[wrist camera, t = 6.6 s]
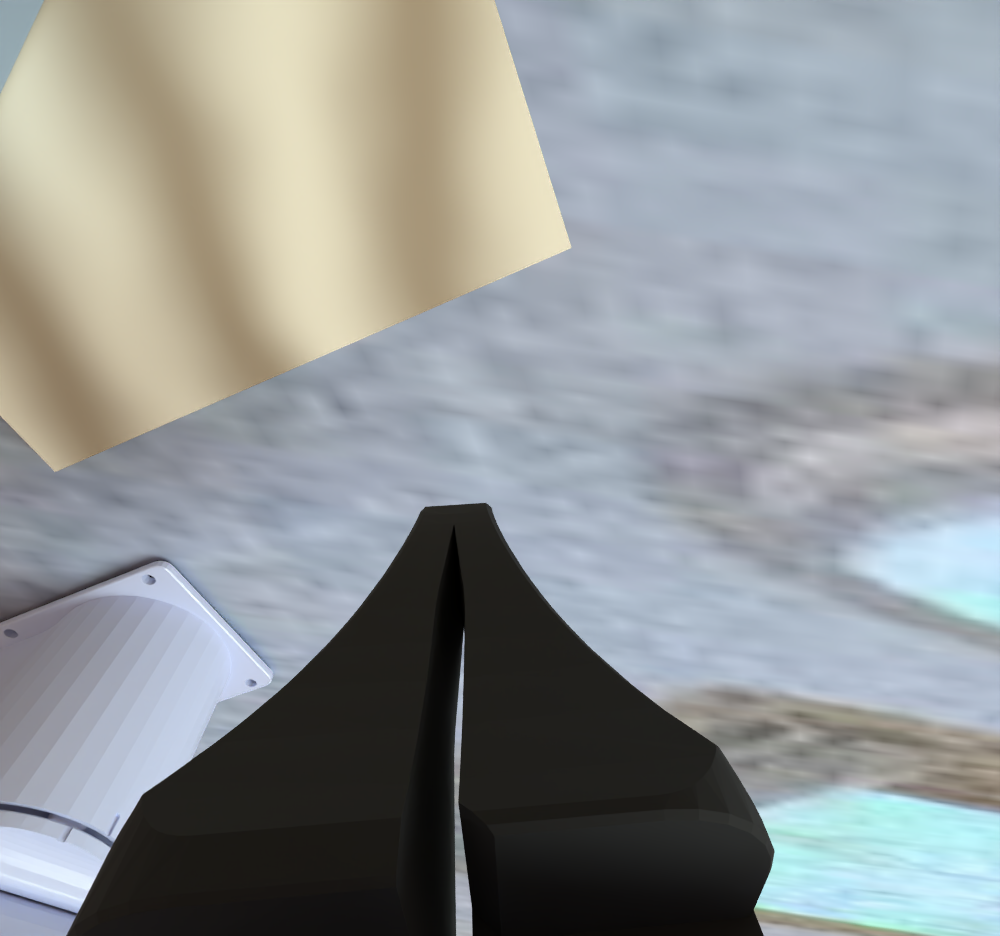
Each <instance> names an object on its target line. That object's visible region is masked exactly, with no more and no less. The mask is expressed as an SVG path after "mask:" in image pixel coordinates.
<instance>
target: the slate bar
mask: <svg viewBox="0 0 1000 936" xmlns="http://www.w3.org/2000/svg"><path fill="white" fill-rule="evenodd" d="M43 2H44V0H0V93H1V91H2V89H3V87H4V85H5V83H6V80H7V78H8V76H9V74H10V72H11V70H12V68H13V66H14V63H15V61H16V59H17V57H18V55H19V53H20V51H21V48H22V46H23V44H24V42H25V40H26V38H27V36H28V34H29V31H30V29H31V27H32V25H33V23H34V21H35V19H36V16H37V14H38V12H39V10H40V8H41V6H42V4H43Z"/></svg>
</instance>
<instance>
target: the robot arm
mask: <svg viewBox="0 0 1000 936" xmlns="http://www.w3.org/2000/svg"><path fill="white" fill-rule="evenodd" d="M148 575H151V576H152V577H154V578H151V577H150V576H148ZM463 631H464V632H465V646H464V689H463V720H462V743H461V764H460V784H459V802H458V803H459V810H460V818H461V826H462V833H463V841H464V849H465V857H466V864H467V872H468V880H469V887H470V895H471V903H472V927H473V936H764V935H763V933H762V930H761V928H760V925H759V923H758V920H757V918H756V915H755V913H754V907H755V905H756V903H757V900H758V898H759V896H760V894H761V891H762V889H763V887H764V884H765V882H766V880H767V878H768V875H769V873H770V870H771V867H772V862H773V857H774V849H773V846H772V843H771V841H770V838H769V836H768V833H767V831H766V829H765V826H764V824H763V821H762V819H761V817H760V815H759V813H758V811H757V809H756V807H755V805H754V803H753V802H752V800H751V798H750V796H749V795H748V793H747V791H746V790H745V788H744V786H743V785H742V783H741V781H740V780H739V778H738V776H737V775H736V773H735V772H734V770H733V768H732V767H731V765H730V764H729V762H728V761H727V759H726V757H725V756H724V754H723V753H722V751H721V750H720V748H719V747H718V746H717V745H715V744H714V743H712V742H711V741H709V740H708V739H706V738H705V737H703V736H702V735H700V734H699V733H697V732H696V731H695V730H693V729H692V728H690V727H689V726H687V725H686V724H684V723H683V722H681V721H680V720H678V719H677V718H675V717H674V716H672V715H671V714H669V713H668V712H666V711H665V710H664V709H662V708H661V707H660V706H658V705H657V704H656V703H654V702H653V701H652V700H651V699H649V698H648V697H647V696H646V695H644V694H643V693H642V692H640V691H639V690H638V689H637V688H635V687H634V686H633V685H631V684H630V683H629V682H628V681H627V680H626V679H625V678H623V677H622V676H621V675H620V674H619V673H618V672H617V671H616V670H614V669H613V668H612V667H611V666H610V665H609V664H608V663H606V662H605V661H604V660H603V659H602V658H601V657H600V656H599V655H597V654H596V653H595V652H594V651H593V650H592V649H591V648H590V647H589V646H588V645H587V644H586V643H585V642H584V641H583V640H582V639H581V638H580V637H579V636H578V635H577V634H576V633H575V632H574V631H573V630H572V629H571V628H570V627H569V626H568V625H567V624H566V622H565V621H564V620H563V619H562V618H561V617H560V616H559V615H558V614H557V612H556V611H555V610H554V609H553V608H552V607H551V605H550V604H549V603H548V602H547V601H546V599H545V598H544V597H543V596H542V594H541V593H540V592H539V590H538V589H537V588H536V586H535V585H534V584H533V582H532V581H531V580H530V578H529V577H528V575H527V574H526V573H525V571H524V570H523V568H522V567H521V565H520V563H519V562H518V560H517V559H516V557H515V556H514V554H513V552H512V551H511V549H510V548H509V546H508V544H507V542H506V541H505V539H504V537H503V535H502V533H501V531H500V529H499V527H498V525H497V523H496V520H495V518H494V515H493V512H492V508H491V507H490V506H489V505H488V504H486V503H478V504H462V505H447V506H431V507H425V508H424V509H423V510H422V511H421V512H420V514H419V517H418V519H417V521H416V523H415V525H414V526H413V528H412V530H411V532H410V534H409V536H408V537H407V539H406V541H405V542H404V544H403V546H402V548H401V549H400V551H399V552H398V554H397V555H396V557H395V558H394V560H393V562H392V563H391V565H390V566H389V568H388V569H387V571H386V572H385V574H384V575H383V577H382V578H381V579H380V581H379V582H378V583H377V585H376V586H375V587H374V589H373V590H372V592H371V593H370V594H369V596H368V597H367V598H366V600H365V601H364V602H363V604H362V605H361V606H360V607H359V609H358V610H357V611H356V612H355V613H354V615H353V616H352V617H351V618H350V620H349V621H348V622H347V623H346V624H345V625H344V627H343V628H342V629H341V630H340V631H339V632H338V633H337V634H336V635H335V637H334V638H333V639H332V640H331V641H330V642H329V643H328V644H327V645H326V646H325V647H324V648H323V649H322V650H321V651H320V652H319V653H318V654H317V655H316V656H315V657H314V658H313V659H312V660H311V661H310V662H309V663H308V664H307V665H306V666H305V667H304V668H303V669H302V670H301V671H300V672H299V673H298V674H297V675H296V676H295V677H294V678H293V679H292V680H291V681H290V682H289V683H288V684H286V685H285V686H284V687H283V688H282V689H281V690H280V691H279V692H278V693H276V694H275V695H274V696H273V697H272V698H270V699H269V700H268V701H267V702H266V703H264V704H263V705H262V706H261V707H260V708H259V709H257V710H256V711H255V712H254V713H253V714H251V715H250V716H249V717H248V718H247V719H245V720H244V721H243V722H242V723H240V724H239V725H238V726H237V727H235V728H234V729H233V730H232V731H230V732H229V733H228V734H226V735H225V736H224V737H222V738H221V739H220V740H218V741H217V742H216V743H214V744H213V745H212V746H210V747H209V748H207V749H206V750H205V751H203V752H202V753H200V754H199V755H198V756H196V757H195V758H193V759H192V757H193V755H194V753H195V751H196V749H197V746H198V744H199V742H200V740H201V737H202V735H203V733H204V731H205V729H206V726H207V724H208V722H209V720H210V718H211V715H212V713H213V711H214V709H215V707H216V704H217V702H220V701H223V700H226V699H229V698H232V697H235V696H237V695H240V694H243V693H246V692H249V691H252V690H255V689H258V688H260V687H263V686H266V685H268V684H270V682H271V681H272V678H273V672H272V670H271V669H270V668H269V667H268V666H267V665H266V664H265V663H264V662H263V661H262V660H261V659H260V658H259V657H258V656H257V654H256V653H255V652H254V651H253V650H252V649H251V648H250V647H249V646H248V645H247V644H246V643H245V642H244V641H243V640H242V639H241V637H240V636H239V635H238V634H237V633H236V632H235V631H234V630H233V629H232V628H231V627H230V626H229V625H228V624H227V623H226V622H225V620H224V619H223V618H222V617H221V616H220V615H219V614H218V613H217V612H216V611H215V610H214V609H213V608H212V607H211V606H210V605H209V603H208V602H207V601H206V600H205V599H204V598H203V597H202V596H201V595H200V594H199V593H198V592H197V591H196V590H195V589H194V588H193V586H192V585H191V584H190V583H189V582H188V581H187V580H186V579H185V578H184V577H183V576H182V575H181V574H180V573H179V572H178V571H177V569H176V568H175V567H174V566H173V565H171V564H170V563H168V562H165V561H155V562H153V563H150V564H148V565H145V566H142V567H140V568H137V569H135V570H132V571H130V572H127V573H125V574H122V575H120V576H117V577H115V578H112V579H110V580H107V581H104V582H102V583H99V584H97V585H94V586H92V587H89V588H87V589H84V590H82V591H79V592H77V593H74V594H72V595H69V596H66V597H64V598H61V599H59V600H56V601H54V602H51V603H49V604H46V605H44V606H41V607H39V608H36V609H34V610H31V611H29V612H26V613H23V614H21V615H18V616H16V617H13V618H11V619H8V620H6V621H3V622H1V623H0V936H456V903H455V820H454V745H455V726H456V714H457V702H458V690H459V679H460V667H461V655H462V643H463Z"/></svg>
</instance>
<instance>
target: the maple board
mask: <svg viewBox="0 0 1000 936" xmlns="http://www.w3.org/2000/svg"><path fill="white" fill-rule="evenodd" d="M570 248H571V245H570V242H569V238H568V235H567V232H566V229H565V226H564V222H563V219H562V216H561V213H560V209H559V206H558V203H557V200H556V197H555V193H554V190H553V187H552V184H551V181H550V177H549V174H548V171H547V168H546V165H545V161H544V158H543V155H542V152H541V149H540V145H539V142H538V139H537V136H536V132H535V129H534V126H533V123H532V120H531V116H530V113H529V110H528V107H527V104H526V100H525V97H524V94H523V91H522V88H521V84H520V81H519V78H518V75H517V72H516V68H515V65H514V62H513V59H512V55H511V52H510V49H509V46H508V43H507V39H506V36H505V33H504V30H503V27H502V23H501V20H500V17H499V14H498V11H497V7H496V4H495V1H494V0H44V2H43V4H42V6H41V8H40V10H39V12H38V14H37V16H36V19H35V21H34V23H33V25H32V27H31V29H30V31H29V34H28V36H27V38H26V40H25V42H24V44H23V46H22V48H21V51H20V53H19V55H18V57H17V59H16V61H15V63H14V66H13V68H12V70H11V72H10V74H9V76H8V78H7V80H6V83H5V85H4V87H3V89H2V91H1V93H0V416H1V417H2V418H3V419H4V420H5V421H6V422H7V423H8V424H9V425H10V426H11V427H12V428H13V429H14V430H15V431H16V432H17V433H18V434H19V435H20V436H21V437H22V438H23V439H24V440H25V442H26V443H27V444H28V445H29V446H30V447H31V448H32V449H33V450H34V451H35V452H36V453H37V454H38V455H39V456H40V457H41V458H42V459H43V460H44V461H45V462H46V463H47V464H48V465H49V466H50V467H51V468H52V469H53V470H54V471H55V472H56V471H59V470H61V469H63V468H65V467H68V466H70V465H72V464H75V463H77V462H79V461H82V460H84V459H86V458H89V457H91V456H93V455H95V454H98V453H100V452H102V451H105V450H107V449H109V448H112V447H114V446H116V445H118V444H121V443H123V442H125V441H128V440H130V439H132V438H135V437H137V436H139V435H142V434H144V433H146V432H148V431H151V430H153V429H155V428H158V427H160V426H162V425H165V424H167V423H169V422H171V421H174V420H176V419H178V418H181V417H183V416H185V415H188V414H190V413H192V412H195V411H197V410H199V409H201V408H204V407H206V406H208V405H211V404H213V403H215V402H218V401H220V400H222V399H224V398H227V397H229V396H231V395H234V394H236V393H238V392H241V391H243V390H245V389H247V388H250V387H252V386H254V385H257V384H259V383H261V382H264V381H266V380H268V379H271V378H273V377H275V376H277V375H280V374H282V373H284V372H287V371H289V370H291V369H294V368H296V367H298V366H300V365H303V364H305V363H307V362H310V361H312V360H314V359H317V358H319V357H321V356H324V355H326V354H328V353H330V352H333V351H335V350H337V349H340V348H342V347H344V346H347V345H349V344H351V343H353V342H356V341H358V340H360V339H363V338H365V337H367V336H370V335H372V334H374V333H377V332H379V331H381V330H383V329H386V328H388V327H390V326H393V325H395V324H397V323H400V322H402V321H404V320H406V319H409V318H411V317H413V316H416V315H418V314H420V313H423V312H425V311H427V310H429V309H432V308H434V307H436V306H439V305H441V304H443V303H446V302H448V301H450V300H453V299H455V298H457V297H459V296H462V295H464V294H466V293H469V292H471V291H473V290H476V289H478V288H480V287H482V286H485V285H487V284H489V283H492V282H494V281H496V280H499V279H501V278H503V277H506V276H508V275H510V274H512V273H515V272H517V271H519V270H522V269H524V268H526V267H529V266H531V265H533V264H535V263H538V262H540V261H542V260H545V259H547V258H549V257H552V256H554V255H556V254H559V253H561V252H563V251H565V250H568V249H570Z"/></svg>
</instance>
